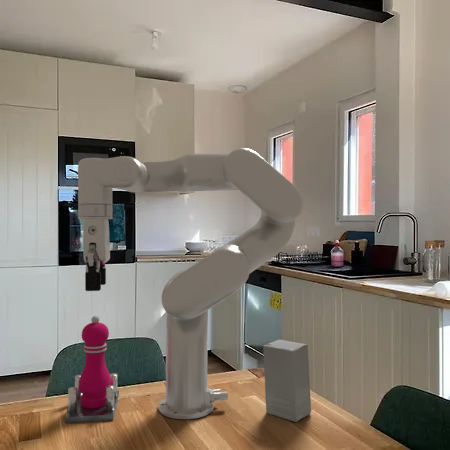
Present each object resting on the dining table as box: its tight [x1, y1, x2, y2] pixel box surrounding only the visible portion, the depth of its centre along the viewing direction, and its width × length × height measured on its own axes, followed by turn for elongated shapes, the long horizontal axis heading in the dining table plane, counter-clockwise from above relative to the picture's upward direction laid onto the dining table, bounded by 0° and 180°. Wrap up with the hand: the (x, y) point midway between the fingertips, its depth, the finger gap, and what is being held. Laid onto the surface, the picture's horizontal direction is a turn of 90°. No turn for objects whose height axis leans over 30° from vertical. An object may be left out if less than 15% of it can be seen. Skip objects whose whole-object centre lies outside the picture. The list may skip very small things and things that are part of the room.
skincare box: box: [262, 338, 312, 423], centre depth 101 cm, size 8×7×16 cm
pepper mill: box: [78, 315, 111, 408], centre depth 103 cm, size 7×7×20 cm
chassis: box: [64, 373, 120, 424], centre depth 103 cm, size 10×14×6 cm
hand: (96, 287), depth 103 cm, fingers open, 9 cm apart
